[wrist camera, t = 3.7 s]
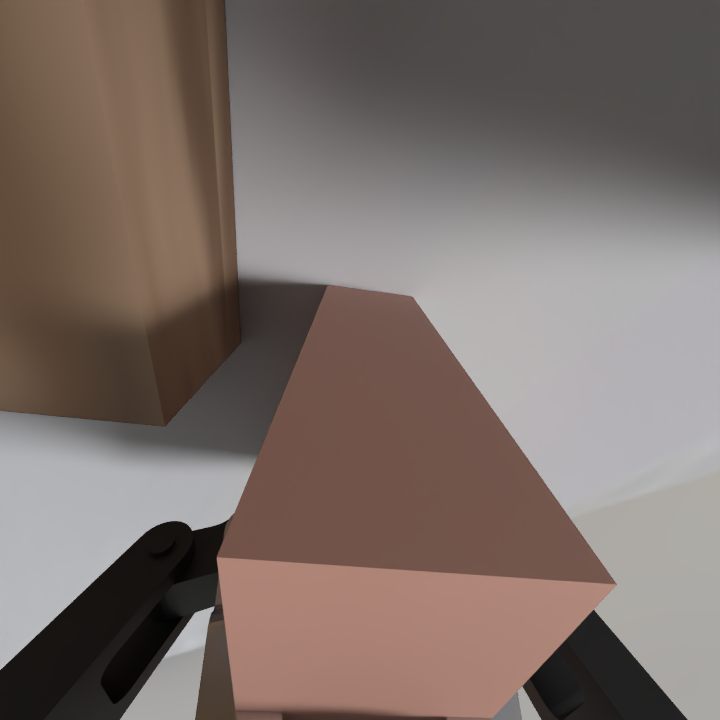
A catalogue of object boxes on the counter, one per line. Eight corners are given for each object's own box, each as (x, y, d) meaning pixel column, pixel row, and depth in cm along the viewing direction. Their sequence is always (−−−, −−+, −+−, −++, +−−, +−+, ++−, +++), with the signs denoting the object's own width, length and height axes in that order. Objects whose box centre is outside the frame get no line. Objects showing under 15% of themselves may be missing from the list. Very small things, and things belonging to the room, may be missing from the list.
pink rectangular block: (412, 296, 14) (616, 584, 3) (374, 467, 19) (401, 815, 8) (327, 284, 13) (217, 557, 3) (311, 461, 18) (248, 814, 7)
